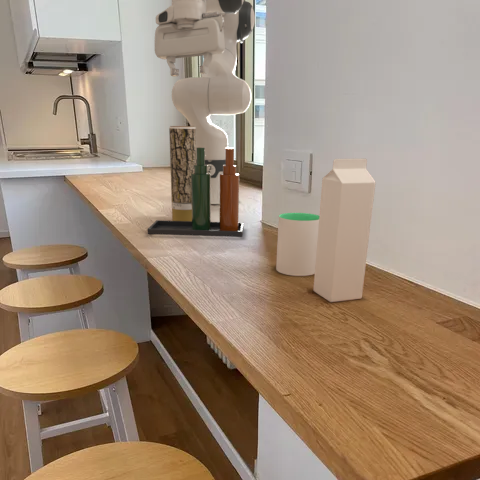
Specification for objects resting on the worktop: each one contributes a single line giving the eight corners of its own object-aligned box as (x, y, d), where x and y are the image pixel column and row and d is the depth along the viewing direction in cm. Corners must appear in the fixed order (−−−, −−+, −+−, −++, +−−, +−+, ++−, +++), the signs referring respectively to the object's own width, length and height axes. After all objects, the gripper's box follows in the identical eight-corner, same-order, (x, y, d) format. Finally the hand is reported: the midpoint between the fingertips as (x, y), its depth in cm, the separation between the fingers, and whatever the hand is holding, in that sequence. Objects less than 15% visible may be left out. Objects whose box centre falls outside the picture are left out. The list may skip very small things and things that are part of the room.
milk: (312, 291, 85) (322, 157, 77) (343, 288, 87) (355, 156, 79) (331, 303, 80) (343, 160, 72) (362, 299, 82) (378, 159, 74)
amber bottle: (220, 229, 128) (220, 147, 120) (238, 229, 128) (240, 147, 120) (218, 233, 123) (219, 148, 116) (237, 233, 123) (239, 149, 116)
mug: (323, 261, 103) (327, 211, 99) (342, 272, 96) (348, 218, 92) (269, 265, 99) (272, 213, 95) (286, 277, 92) (289, 221, 88)
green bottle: (193, 228, 128) (191, 146, 120) (211, 228, 128) (211, 147, 120) (190, 232, 124) (189, 147, 116) (209, 232, 124) (209, 148, 116)
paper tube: (186, 226, 133) (184, 126, 123) (167, 223, 136) (163, 126, 127) (201, 222, 138) (200, 126, 129) (182, 219, 142) (180, 125, 132)
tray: (156, 227, 132) (156, 220, 131) (243, 229, 131) (243, 222, 130) (147, 236, 121) (147, 229, 120) (242, 239, 121) (242, 231, 120)
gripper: (230, 14, 125) (228, 74, 129) (165, 23, 135) (165, 79, 139) (217, 7, 120) (216, 69, 124) (150, 17, 129) (151, 75, 133)
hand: (189, 75), depth 131 cm, fingers open, 8 cm apart
